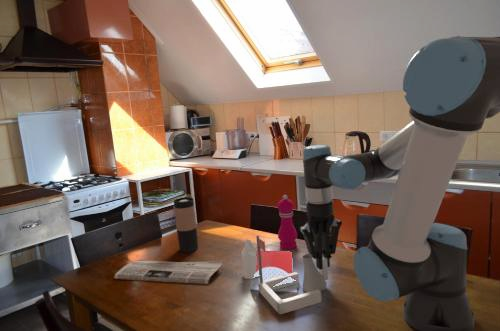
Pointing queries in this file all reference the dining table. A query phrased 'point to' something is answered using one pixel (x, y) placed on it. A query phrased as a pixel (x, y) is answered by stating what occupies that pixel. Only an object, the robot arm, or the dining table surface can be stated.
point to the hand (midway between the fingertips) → (323, 278)
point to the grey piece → (249, 259)
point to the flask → (312, 275)
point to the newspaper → (169, 271)
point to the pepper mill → (286, 224)
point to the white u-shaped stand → (272, 297)
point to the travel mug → (186, 224)
